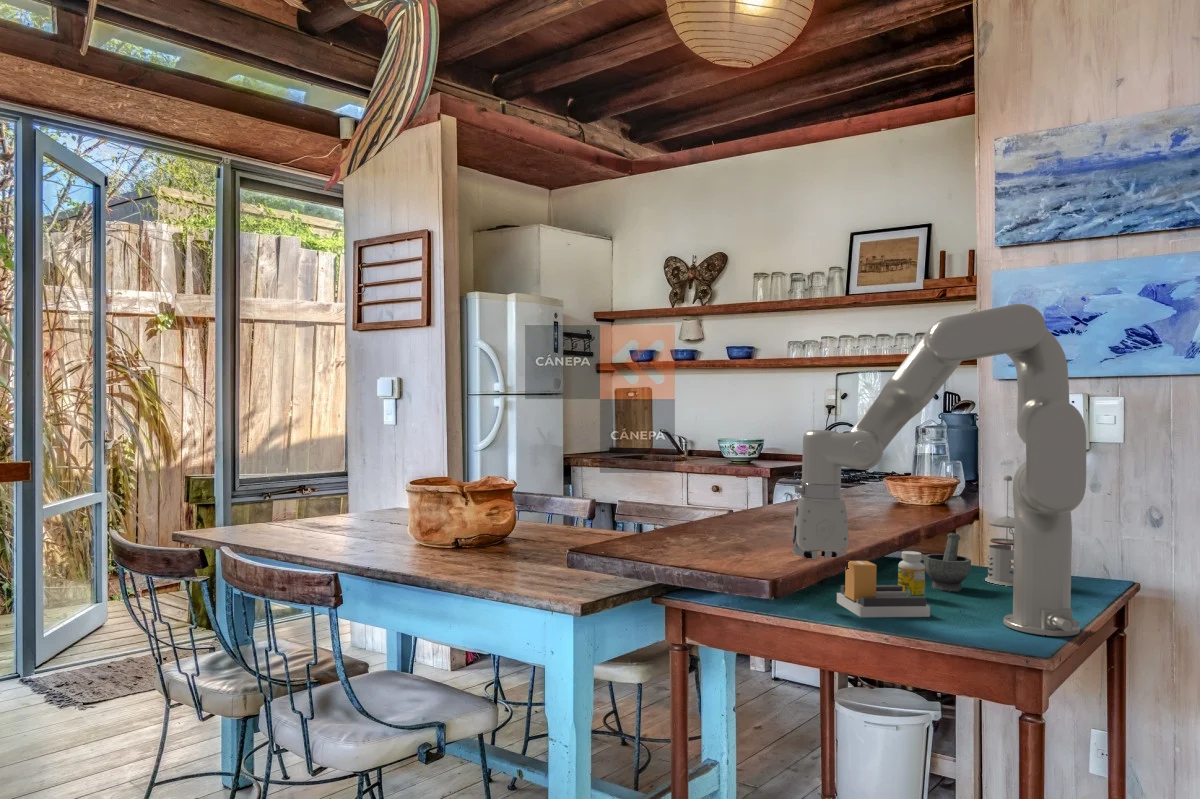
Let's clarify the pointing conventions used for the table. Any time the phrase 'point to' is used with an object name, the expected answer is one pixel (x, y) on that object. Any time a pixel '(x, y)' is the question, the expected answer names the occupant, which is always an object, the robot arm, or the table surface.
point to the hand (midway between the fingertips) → (818, 584)
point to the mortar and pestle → (948, 566)
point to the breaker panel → (883, 610)
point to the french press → (1001, 551)
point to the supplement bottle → (912, 573)
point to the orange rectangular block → (860, 579)
